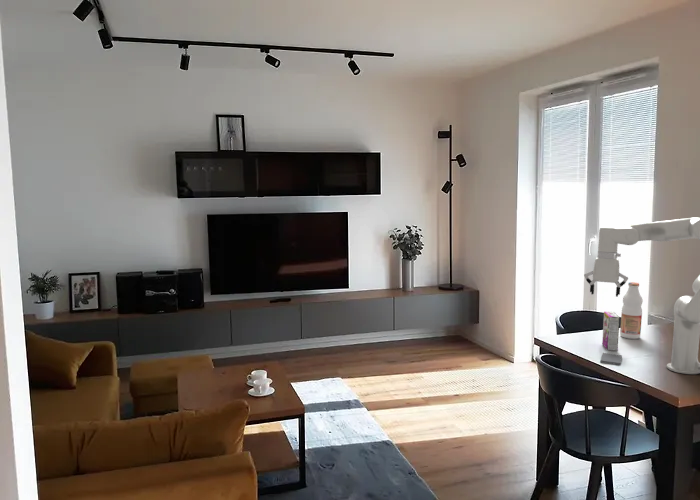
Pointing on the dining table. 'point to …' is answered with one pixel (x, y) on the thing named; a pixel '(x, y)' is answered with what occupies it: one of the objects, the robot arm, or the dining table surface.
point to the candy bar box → (610, 331)
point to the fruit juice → (631, 313)
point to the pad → (611, 358)
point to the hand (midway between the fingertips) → (604, 295)
